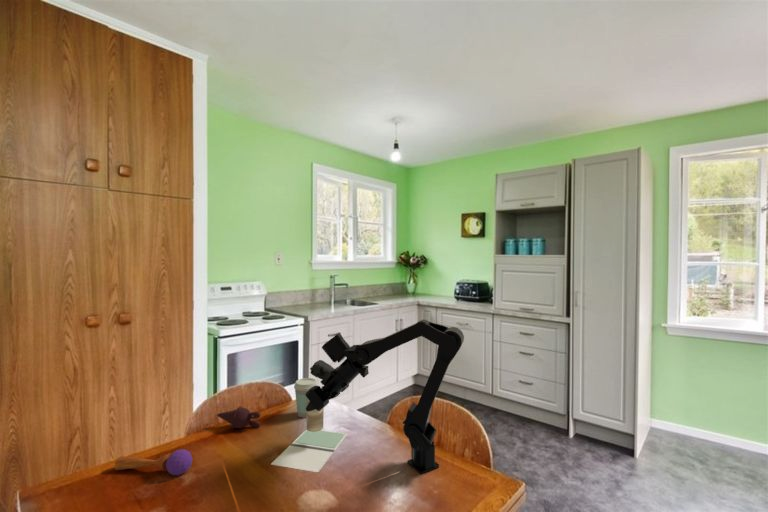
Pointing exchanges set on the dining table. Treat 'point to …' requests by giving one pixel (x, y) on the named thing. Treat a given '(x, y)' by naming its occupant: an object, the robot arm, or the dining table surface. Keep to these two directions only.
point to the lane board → (310, 450)
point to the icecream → (240, 418)
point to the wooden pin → (314, 419)
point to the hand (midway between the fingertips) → (311, 406)
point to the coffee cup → (303, 394)
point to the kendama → (159, 462)
